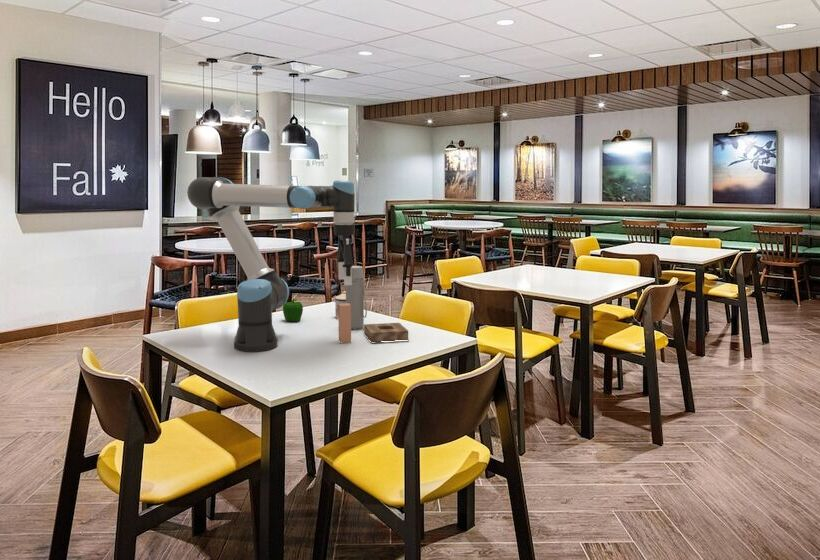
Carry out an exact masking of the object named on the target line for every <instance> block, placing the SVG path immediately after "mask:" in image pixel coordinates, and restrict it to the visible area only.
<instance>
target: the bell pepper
mask: <svg viewBox="0 0 820 560" xmlns="http://www.w3.org/2000/svg"><path fill="white" fill-rule="evenodd" d="M303 311H304V305H303V304H302V303H301V301H297V298H292V299H291V301H289V302H288V301H286V302H285V303H284V304H283V305H282V313H283V317H284V319H285V321H286V322H289V321H291V322H293V323H294V322H300V320H301V319H302V317H303V316H302V315H303Z"/></svg>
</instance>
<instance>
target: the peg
mask: <svg viewBox="0 0 820 560" xmlns="http://www.w3.org/2000/svg"><path fill="white" fill-rule="evenodd" d="M338 312H339V319H338V342H339V341H340V342H351V343H352V329H351V305H350V304H349V303H344V304H338ZM340 342H339V343H340Z"/></svg>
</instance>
